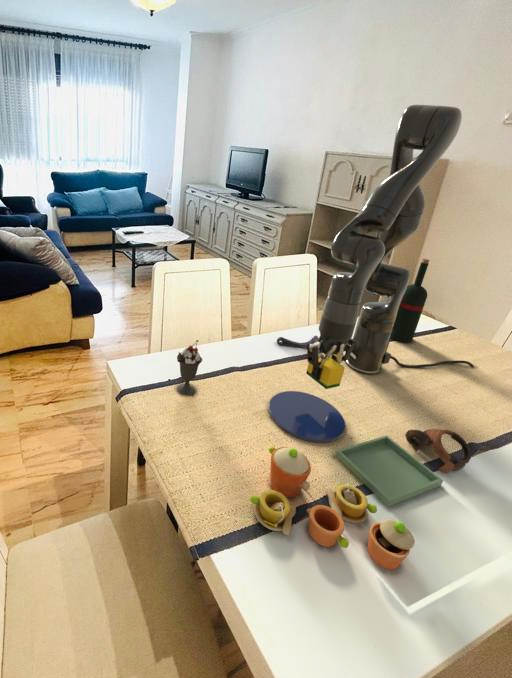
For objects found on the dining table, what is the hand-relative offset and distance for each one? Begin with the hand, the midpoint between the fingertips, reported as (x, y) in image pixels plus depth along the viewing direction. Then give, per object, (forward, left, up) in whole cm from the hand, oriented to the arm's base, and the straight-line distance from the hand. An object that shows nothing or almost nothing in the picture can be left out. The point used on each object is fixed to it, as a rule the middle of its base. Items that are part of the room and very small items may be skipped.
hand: (323, 376), depth 98 cm
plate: (+6, +3, -9) cm, 11 cm away
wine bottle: (-58, -22, -10) cm, 63 cm away
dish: (+1, +22, -9) cm, 24 cm away
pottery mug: (-13, +22, -10) cm, 27 cm away
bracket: (-17, -26, -10) cm, 33 cm away
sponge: (0, 0, -1) cm, 1 cm away
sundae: (+30, -16, -10) cm, 35 cm away
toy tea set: (+22, +26, -10) cm, 35 cm away
